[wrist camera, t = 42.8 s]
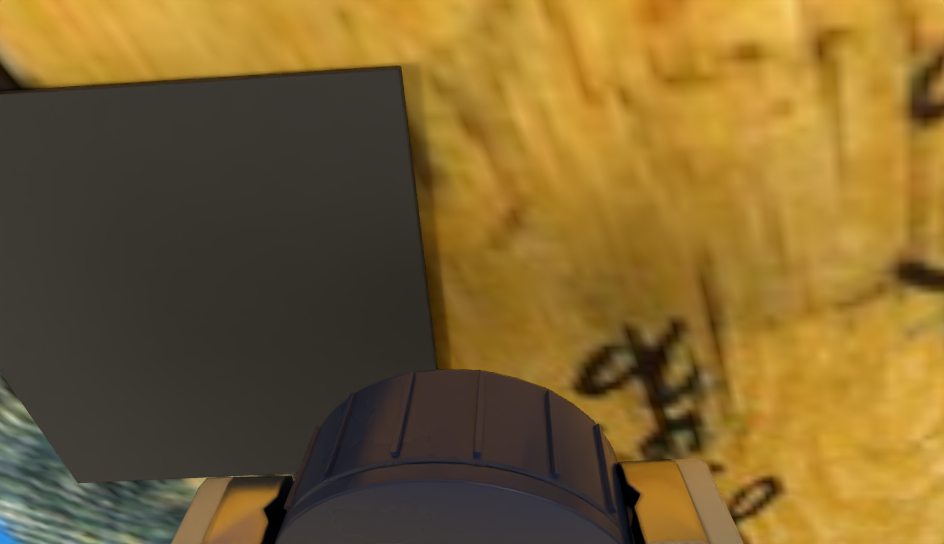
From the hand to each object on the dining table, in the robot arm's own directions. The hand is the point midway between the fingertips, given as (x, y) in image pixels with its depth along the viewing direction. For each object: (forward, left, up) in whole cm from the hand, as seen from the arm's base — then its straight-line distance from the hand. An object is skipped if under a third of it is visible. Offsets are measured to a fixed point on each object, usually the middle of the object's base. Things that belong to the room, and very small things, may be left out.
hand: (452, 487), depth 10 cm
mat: (-1, +8, -7) cm, 11 cm away
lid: (0, 0, +1) cm, 1 cm away
